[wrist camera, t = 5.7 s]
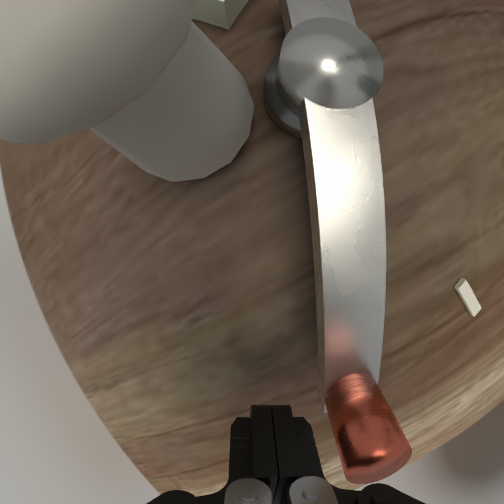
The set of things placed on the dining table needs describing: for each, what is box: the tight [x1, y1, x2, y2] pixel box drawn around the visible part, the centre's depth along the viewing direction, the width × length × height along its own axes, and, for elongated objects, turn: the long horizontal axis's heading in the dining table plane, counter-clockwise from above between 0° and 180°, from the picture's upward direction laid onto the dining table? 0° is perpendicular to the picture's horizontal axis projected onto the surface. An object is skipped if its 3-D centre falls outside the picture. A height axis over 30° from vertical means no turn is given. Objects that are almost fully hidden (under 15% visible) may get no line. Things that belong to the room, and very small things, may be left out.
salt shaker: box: [0, 0, 254, 182], centre depth 8 cm, size 6×6×13 cm
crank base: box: [264, 53, 302, 138], centre depth 13 cm, size 4×4×2 cm
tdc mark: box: [454, 278, 481, 317], centre depth 16 cm, size 3×1×1 cm, turn 46°
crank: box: [275, 0, 412, 484], centre depth 9 cm, size 20×4×7 cm, turn 7°
